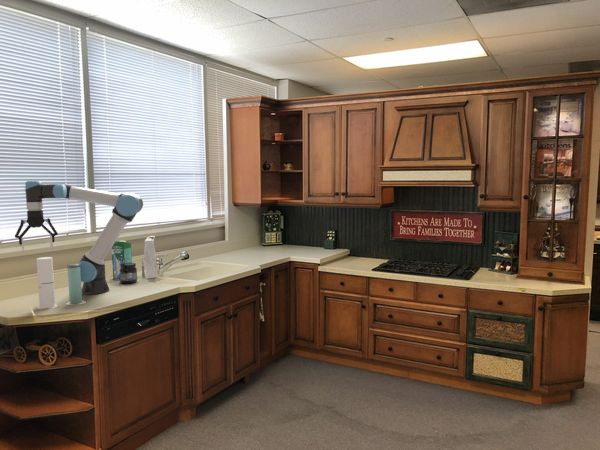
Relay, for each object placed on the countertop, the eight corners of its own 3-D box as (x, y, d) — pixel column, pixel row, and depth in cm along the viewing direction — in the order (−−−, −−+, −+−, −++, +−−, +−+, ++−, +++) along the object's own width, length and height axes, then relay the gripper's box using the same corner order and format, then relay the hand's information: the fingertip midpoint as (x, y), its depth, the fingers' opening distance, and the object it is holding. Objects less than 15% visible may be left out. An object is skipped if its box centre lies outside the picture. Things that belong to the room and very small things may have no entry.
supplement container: (128, 280, 320) (127, 262, 319) (141, 281, 316) (140, 263, 315) (116, 283, 311) (115, 264, 309) (129, 284, 306) (128, 265, 305)
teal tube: (81, 300, 262) (79, 263, 260) (83, 302, 257) (81, 265, 255) (68, 302, 259) (66, 264, 257) (70, 304, 253) (67, 266, 251)
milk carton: (132, 276, 333) (130, 239, 330) (125, 278, 324) (123, 241, 322) (120, 275, 335) (119, 239, 332) (113, 278, 326) (111, 241, 324)
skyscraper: (152, 276, 334) (150, 235, 331) (159, 277, 328) (157, 236, 326) (141, 278, 327) (139, 236, 324) (148, 279, 322) (146, 237, 319)
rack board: (84, 301, 265) (84, 298, 265) (88, 306, 255) (88, 303, 255) (35, 308, 253) (35, 305, 252) (37, 313, 243) (37, 310, 243)
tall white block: (51, 308, 247) (48, 259, 245) (36, 308, 247) (33, 259, 244) (57, 304, 254) (54, 256, 252) (43, 304, 254) (40, 257, 251)
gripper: (59, 208, 271) (62, 246, 273) (7, 210, 257) (10, 250, 259) (61, 209, 264) (64, 248, 267) (8, 211, 251) (11, 252, 253)
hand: (37, 249), depth 263 cm, fingers open, 13 cm apart
